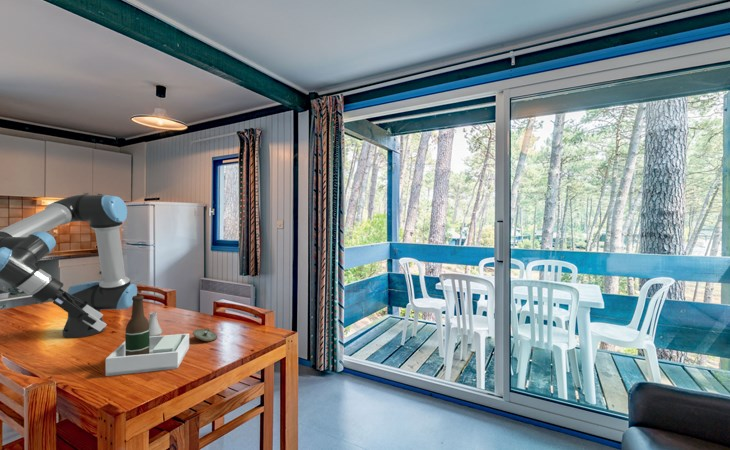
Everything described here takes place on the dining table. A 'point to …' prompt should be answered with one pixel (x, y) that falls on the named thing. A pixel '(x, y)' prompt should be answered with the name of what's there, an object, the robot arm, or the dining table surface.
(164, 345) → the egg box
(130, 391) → the dining table surface
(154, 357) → the tray
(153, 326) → the flask
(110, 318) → the dining table surface
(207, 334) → the lid
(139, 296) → the beer bottle
